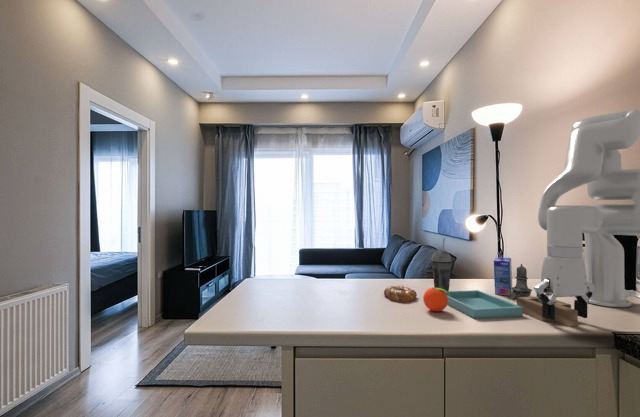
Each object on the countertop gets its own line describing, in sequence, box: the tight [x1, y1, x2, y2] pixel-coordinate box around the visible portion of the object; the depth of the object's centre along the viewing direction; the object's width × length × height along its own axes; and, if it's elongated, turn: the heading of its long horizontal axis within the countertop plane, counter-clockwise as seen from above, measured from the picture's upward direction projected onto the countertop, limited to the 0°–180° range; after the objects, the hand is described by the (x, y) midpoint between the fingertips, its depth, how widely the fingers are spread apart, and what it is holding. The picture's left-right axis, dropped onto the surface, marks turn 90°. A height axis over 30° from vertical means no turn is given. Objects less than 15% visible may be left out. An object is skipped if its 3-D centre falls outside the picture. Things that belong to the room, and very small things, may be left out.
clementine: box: [422, 286, 451, 313], centre depth 97 cm, size 8×7×7 cm
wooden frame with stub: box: [516, 295, 579, 328], centre depth 91 cm, size 9×14×4 cm, turn 9°
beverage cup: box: [430, 237, 453, 292], centre depth 118 cm, size 7×7×20 cm
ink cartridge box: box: [493, 251, 513, 297], centre depth 119 cm, size 10×6×14 cm, turn 148°
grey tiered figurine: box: [511, 263, 533, 302], centre depth 109 cm, size 6×6×12 cm
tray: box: [445, 289, 524, 320], centre depth 101 cm, size 15×20×2 cm
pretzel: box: [383, 285, 418, 303], centre depth 112 cm, size 12×11×4 cm
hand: (564, 317), depth 86 cm, fingers open, 9 cm apart
